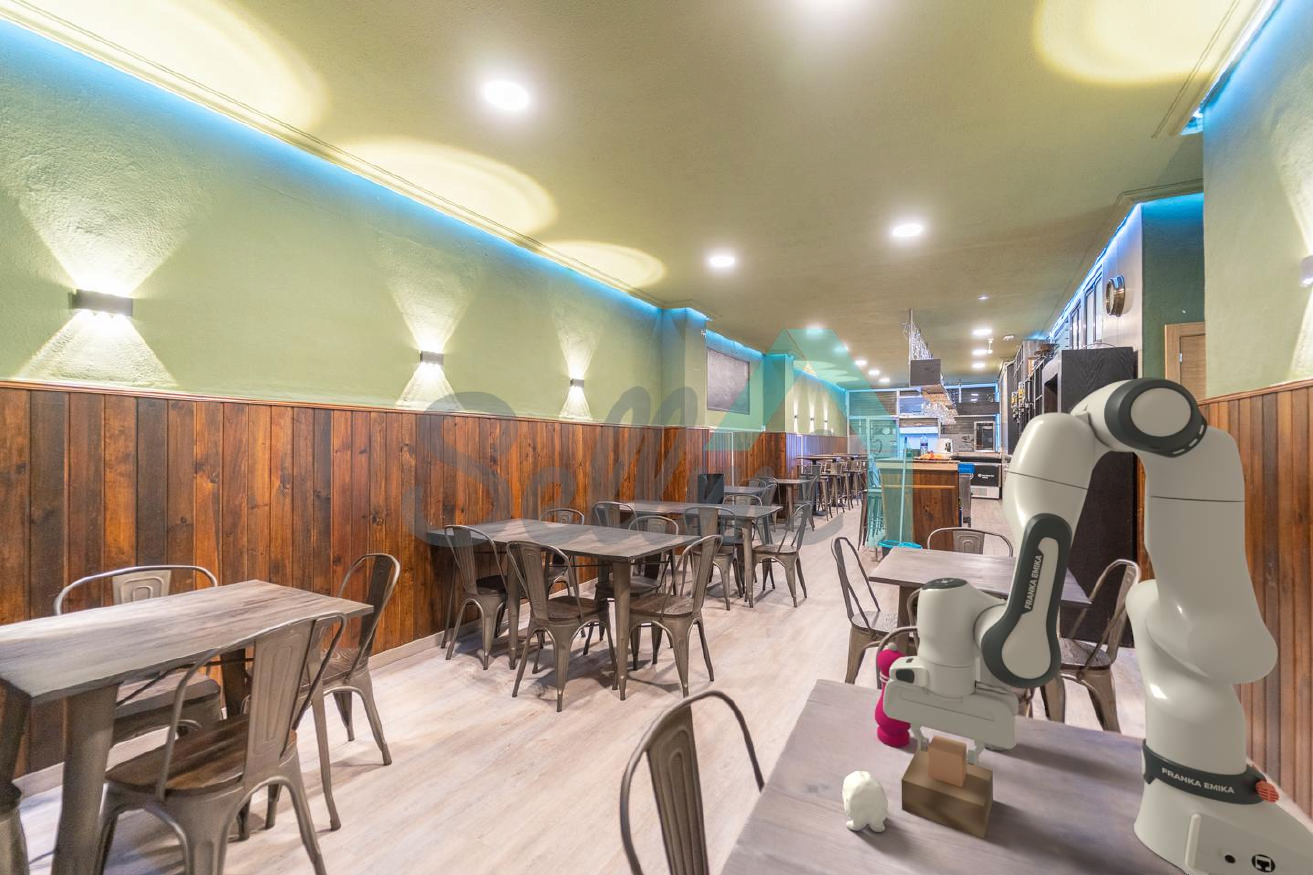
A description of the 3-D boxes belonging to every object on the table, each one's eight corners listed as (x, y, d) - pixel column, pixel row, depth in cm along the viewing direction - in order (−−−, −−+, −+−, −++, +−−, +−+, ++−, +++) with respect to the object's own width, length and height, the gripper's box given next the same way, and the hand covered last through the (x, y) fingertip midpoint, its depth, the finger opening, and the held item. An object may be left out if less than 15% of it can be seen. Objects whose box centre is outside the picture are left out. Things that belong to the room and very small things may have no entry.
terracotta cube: (966, 772, 97) (966, 743, 97) (962, 787, 93) (961, 756, 93) (934, 763, 100) (934, 734, 100) (928, 776, 96) (928, 746, 96)
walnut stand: (993, 799, 98) (992, 770, 98) (984, 838, 88) (983, 806, 88) (917, 775, 105) (917, 748, 105) (901, 809, 95) (901, 779, 95)
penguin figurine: (847, 781, 88) (832, 748, 100) (849, 840, 87) (834, 799, 99) (889, 784, 88) (869, 750, 99) (892, 843, 87) (871, 802, 98)
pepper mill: (918, 748, 114) (917, 648, 114) (882, 748, 114) (881, 648, 114) (903, 730, 121) (902, 636, 122) (869, 730, 121) (868, 636, 122)
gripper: (1019, 683, 93) (1021, 768, 93) (889, 656, 105) (890, 731, 105) (1016, 696, 88) (1018, 786, 88) (879, 667, 100) (881, 746, 100)
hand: (947, 756), depth 96 cm, fingers open, 6 cm apart
